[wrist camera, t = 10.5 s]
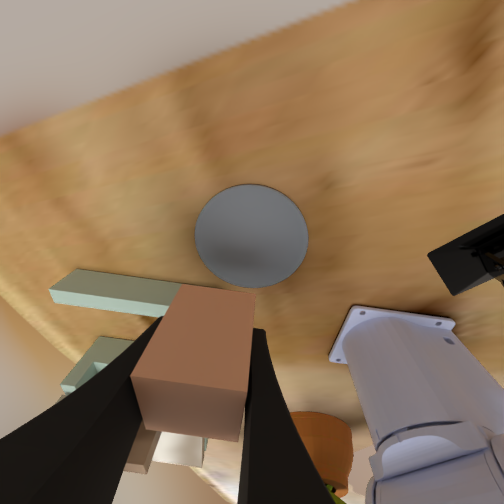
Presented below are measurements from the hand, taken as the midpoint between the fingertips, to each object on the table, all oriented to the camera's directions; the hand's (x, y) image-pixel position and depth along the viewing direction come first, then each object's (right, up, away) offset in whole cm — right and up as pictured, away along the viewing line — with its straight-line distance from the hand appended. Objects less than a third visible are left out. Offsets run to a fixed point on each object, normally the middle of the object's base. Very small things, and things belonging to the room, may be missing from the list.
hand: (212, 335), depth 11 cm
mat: (+2, +5, +7) cm, 9 cm away
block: (0, +1, +1) cm, 2 cm away
